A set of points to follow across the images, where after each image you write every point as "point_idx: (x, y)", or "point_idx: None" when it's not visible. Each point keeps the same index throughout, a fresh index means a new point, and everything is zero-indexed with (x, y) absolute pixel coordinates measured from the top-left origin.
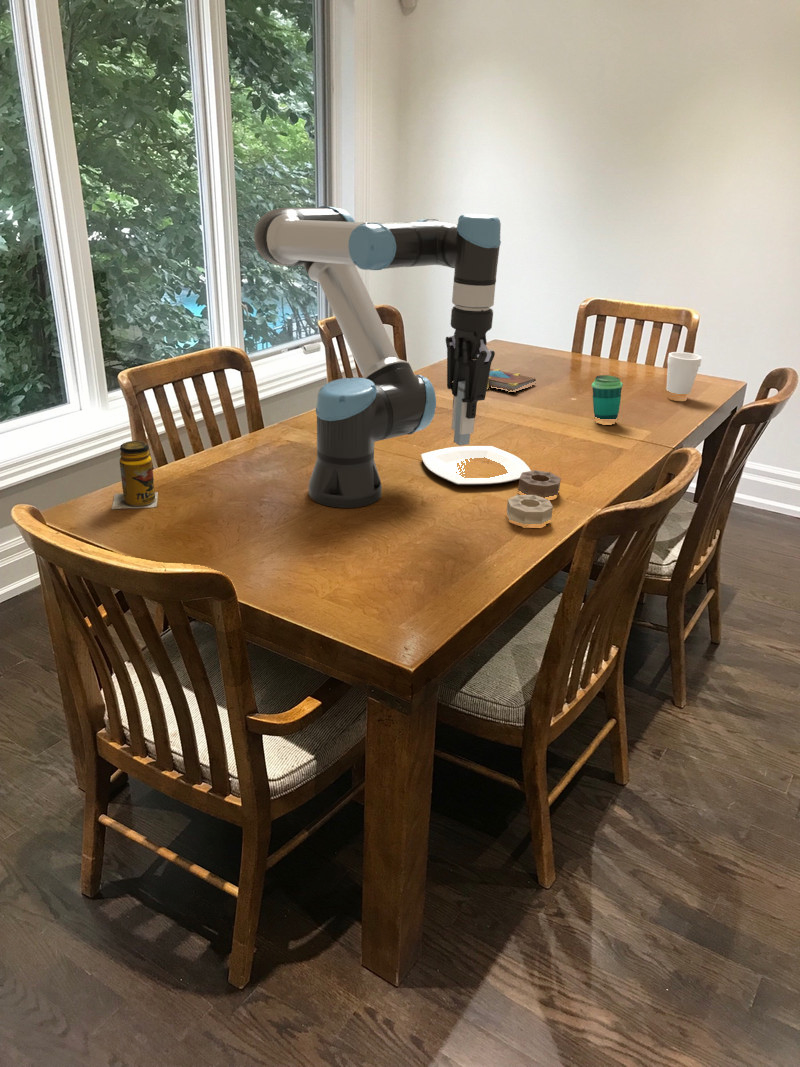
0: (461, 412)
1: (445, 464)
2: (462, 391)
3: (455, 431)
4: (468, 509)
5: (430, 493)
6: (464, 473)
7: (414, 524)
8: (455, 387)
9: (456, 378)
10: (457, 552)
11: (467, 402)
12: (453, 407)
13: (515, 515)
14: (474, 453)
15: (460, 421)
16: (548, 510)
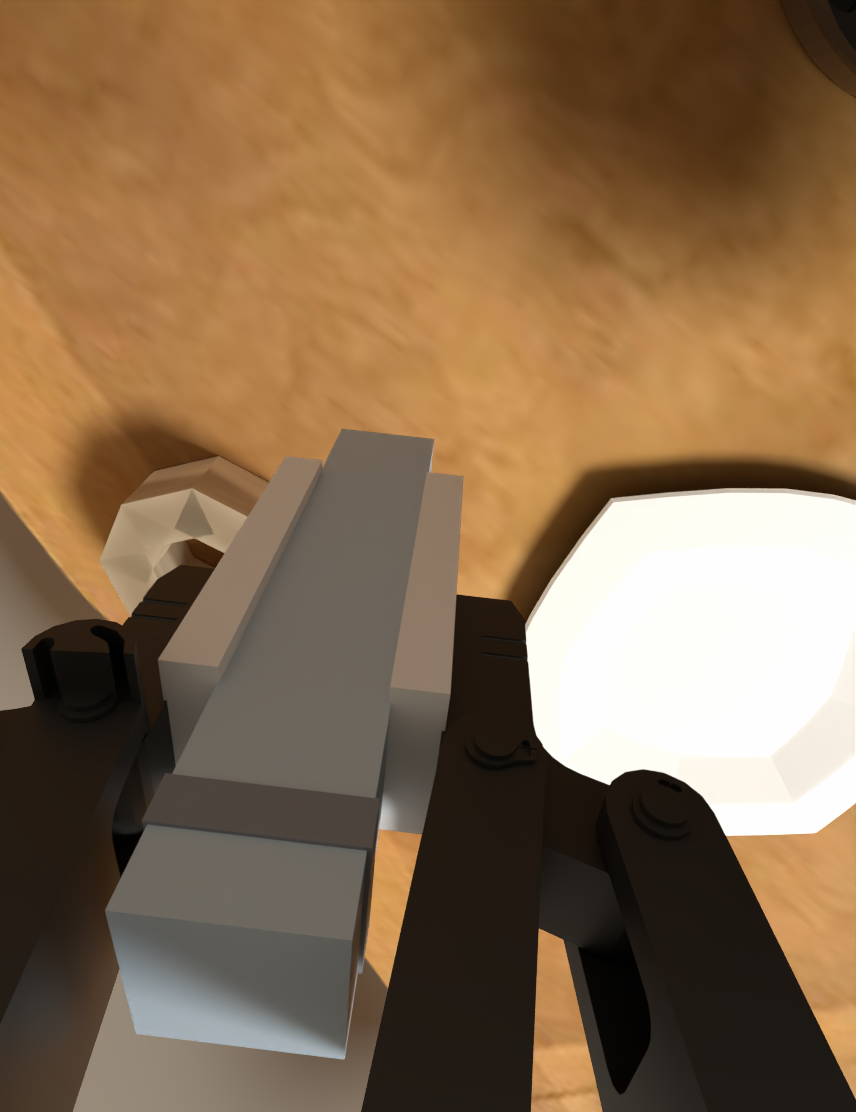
0: (257, 567)
1: (842, 605)
2: (207, 784)
3: (410, 476)
4: (410, 397)
5: (657, 355)
6: (711, 611)
7: (389, 7)
8: (434, 816)
9: (415, 998)
10: (6, 15)
11: (159, 688)
12: (446, 592)
13: (178, 479)
14: (822, 753)
15: (293, 514)
16: (120, 591)
